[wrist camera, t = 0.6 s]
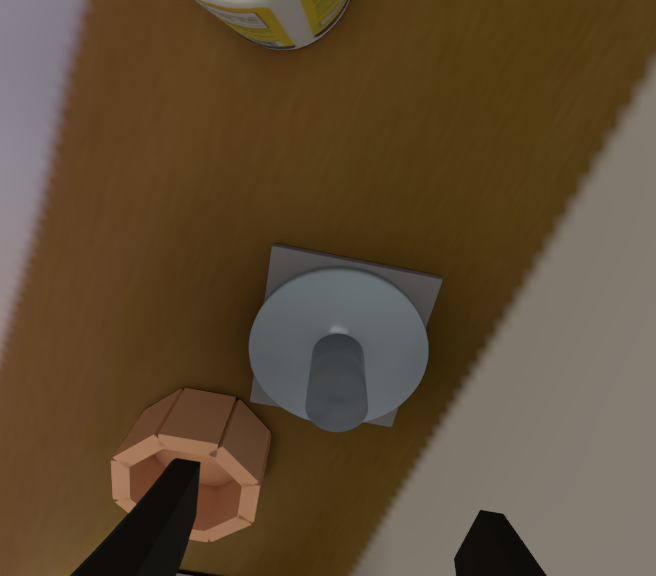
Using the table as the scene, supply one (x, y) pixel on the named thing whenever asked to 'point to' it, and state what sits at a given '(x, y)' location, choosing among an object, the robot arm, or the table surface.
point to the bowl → (198, 457)
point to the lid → (338, 346)
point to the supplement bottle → (278, 19)
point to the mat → (300, 260)
